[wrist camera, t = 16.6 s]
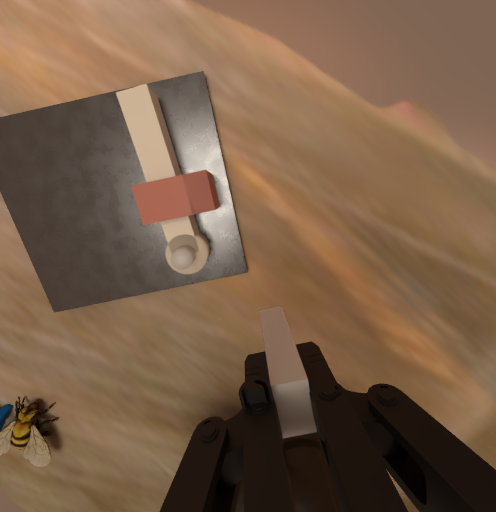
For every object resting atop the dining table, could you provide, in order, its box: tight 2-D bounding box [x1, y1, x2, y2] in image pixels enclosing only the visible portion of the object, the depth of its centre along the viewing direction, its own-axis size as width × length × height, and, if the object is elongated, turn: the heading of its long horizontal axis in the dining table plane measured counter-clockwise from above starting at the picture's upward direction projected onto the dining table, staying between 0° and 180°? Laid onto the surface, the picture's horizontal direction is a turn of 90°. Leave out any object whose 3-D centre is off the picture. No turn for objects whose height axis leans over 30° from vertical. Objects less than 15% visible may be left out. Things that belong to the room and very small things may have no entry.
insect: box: [0, 397, 59, 467], centre depth 47 cm, size 11×15×5 cm
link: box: [116, 84, 210, 274], centre depth 34 cm, size 25×6×7 cm, turn 14°
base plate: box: [0, 71, 247, 312], centre depth 39 cm, size 30×34×2 cm
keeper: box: [131, 170, 220, 225], centre depth 35 cm, size 5×10×8 cm, turn 102°
